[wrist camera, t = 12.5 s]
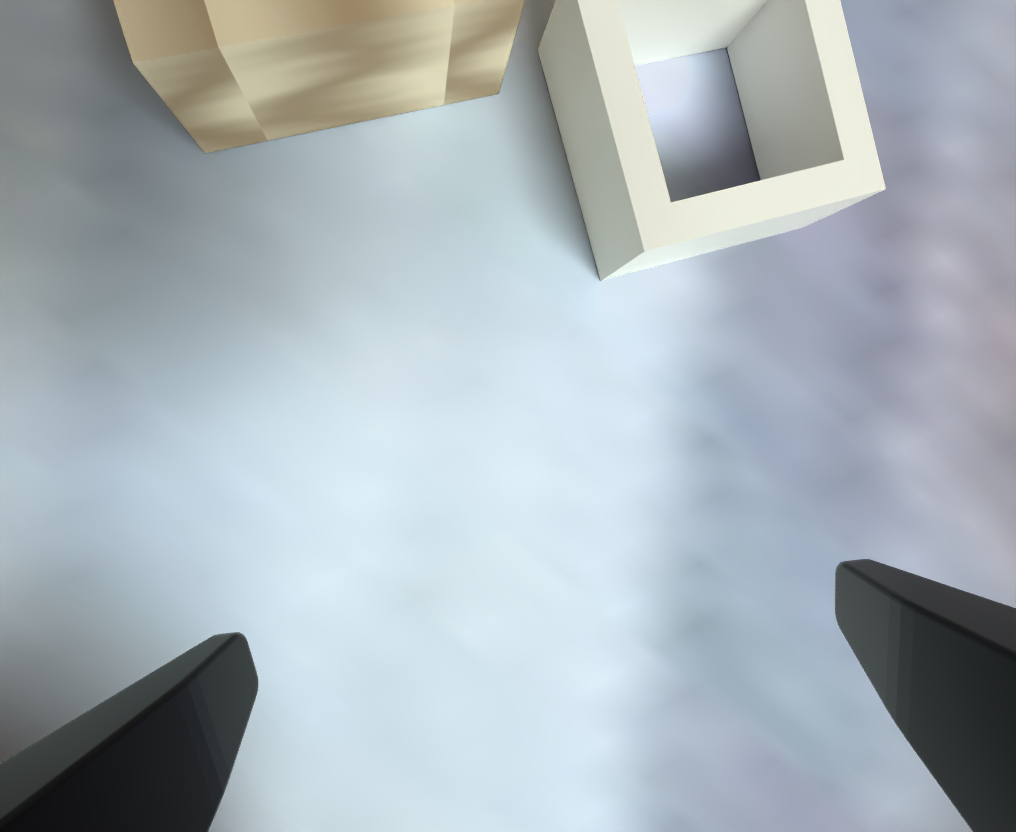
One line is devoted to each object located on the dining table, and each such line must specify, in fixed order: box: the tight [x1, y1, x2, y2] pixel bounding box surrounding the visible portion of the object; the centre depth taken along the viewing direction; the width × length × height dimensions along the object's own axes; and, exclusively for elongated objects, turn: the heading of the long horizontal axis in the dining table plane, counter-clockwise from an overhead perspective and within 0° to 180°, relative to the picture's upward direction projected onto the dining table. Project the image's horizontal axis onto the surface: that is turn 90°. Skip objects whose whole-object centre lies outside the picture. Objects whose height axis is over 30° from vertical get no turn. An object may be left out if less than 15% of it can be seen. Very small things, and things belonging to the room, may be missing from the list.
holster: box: [538, 0, 886, 281], centre depth 19 cm, size 8×8×4 cm
